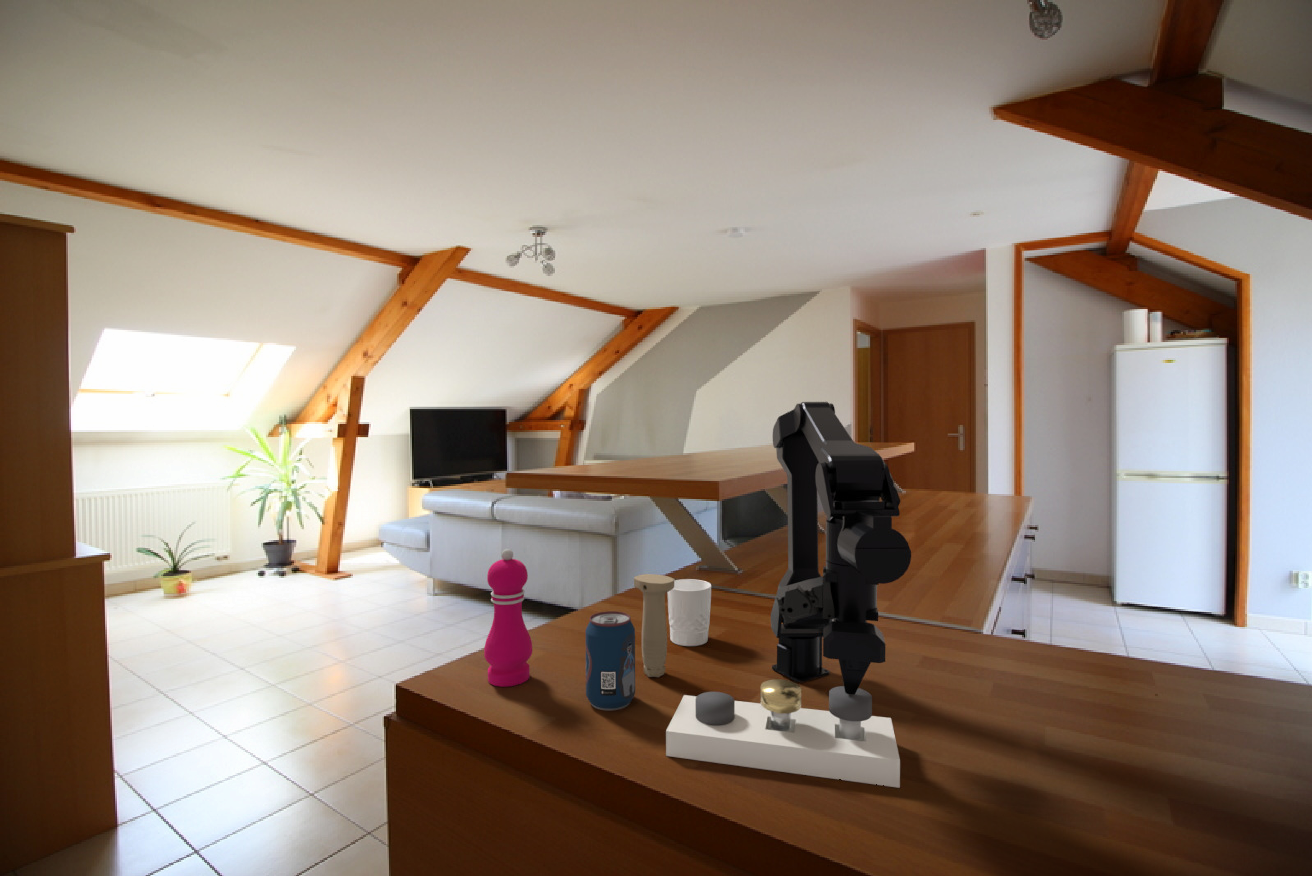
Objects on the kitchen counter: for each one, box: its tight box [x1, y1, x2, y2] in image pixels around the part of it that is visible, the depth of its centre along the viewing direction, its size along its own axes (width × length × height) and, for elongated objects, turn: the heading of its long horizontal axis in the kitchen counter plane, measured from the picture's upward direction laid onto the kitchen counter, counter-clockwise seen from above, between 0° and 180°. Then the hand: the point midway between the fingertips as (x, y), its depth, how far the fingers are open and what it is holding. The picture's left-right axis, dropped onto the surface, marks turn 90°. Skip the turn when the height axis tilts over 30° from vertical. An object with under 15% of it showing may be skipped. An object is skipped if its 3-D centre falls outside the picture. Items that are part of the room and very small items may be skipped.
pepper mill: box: [483, 548, 533, 688], centre depth 98 cm, size 7×7×20 cm
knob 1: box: [696, 691, 736, 725], centre depth 79 cm, size 5×5×5 cm
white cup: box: [666, 578, 712, 647], centre depth 115 cm, size 8×8×10 cm
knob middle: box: [760, 678, 802, 731], centre depth 77 cm, size 5×5×5 cm
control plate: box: [665, 694, 901, 789], centre depth 77 cm, size 26×10×3 cm, turn 75°
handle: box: [633, 573, 675, 678], centre depth 100 cm, size 5×6×15 cm
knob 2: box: [828, 685, 873, 739], centre depth 75 cm, size 5×5×5 cm
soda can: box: [585, 610, 636, 711], centre depth 90 cm, size 7×7×12 cm
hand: (850, 693), depth 75 cm, fingers closed
